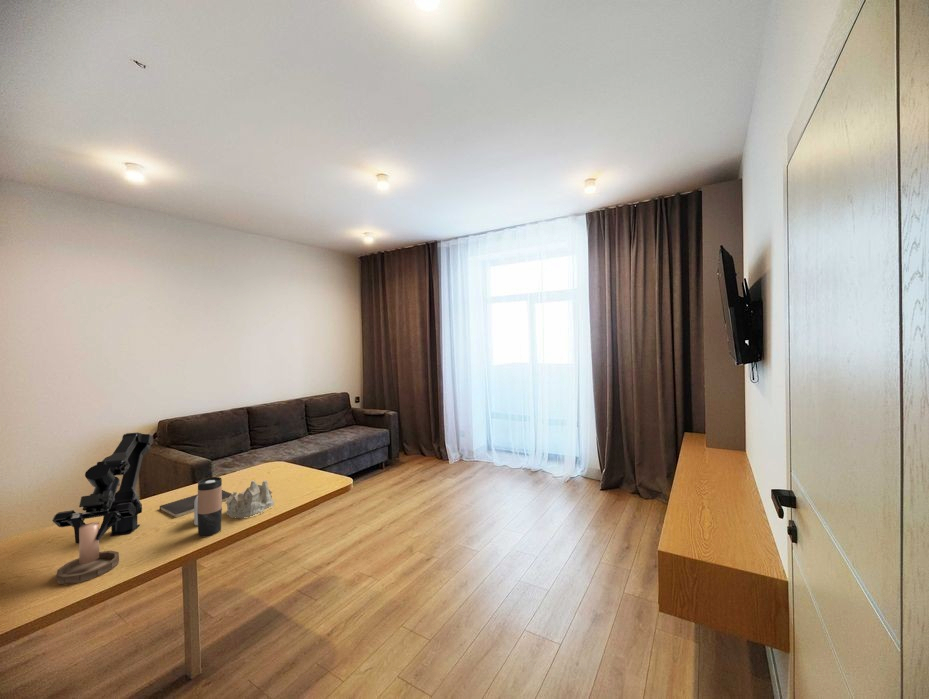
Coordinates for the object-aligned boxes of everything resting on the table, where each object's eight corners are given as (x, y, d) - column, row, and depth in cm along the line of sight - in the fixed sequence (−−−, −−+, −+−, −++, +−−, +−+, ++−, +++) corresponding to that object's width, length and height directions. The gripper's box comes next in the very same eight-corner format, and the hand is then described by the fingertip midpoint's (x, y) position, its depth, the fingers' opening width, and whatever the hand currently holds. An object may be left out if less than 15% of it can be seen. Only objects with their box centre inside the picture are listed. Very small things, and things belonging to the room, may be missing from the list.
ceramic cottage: (280, 504, 160) (277, 472, 160) (245, 522, 144) (242, 486, 144) (256, 501, 166) (253, 469, 165) (220, 518, 150) (218, 483, 150)
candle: (103, 556, 114) (103, 522, 114) (87, 564, 110) (87, 529, 110) (90, 555, 114) (90, 521, 114) (74, 563, 110) (74, 528, 110)
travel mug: (226, 527, 140) (226, 476, 140) (213, 537, 132) (213, 484, 132) (206, 527, 140) (206, 477, 140) (192, 537, 132) (192, 484, 132)
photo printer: (205, 514, 150) (205, 485, 150) (217, 513, 151) (217, 485, 151) (192, 526, 140) (192, 495, 140) (204, 525, 141) (204, 494, 141)
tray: (128, 555, 120) (128, 548, 120) (100, 580, 107) (100, 572, 107) (79, 561, 117) (79, 554, 117) (43, 588, 104) (43, 579, 104)
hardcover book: (234, 499, 167) (234, 494, 167) (175, 519, 147) (175, 513, 147) (217, 492, 175) (217, 487, 175) (159, 510, 155) (159, 505, 155)
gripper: (56, 487, 112) (32, 539, 102) (132, 478, 120) (118, 525, 110) (70, 502, 119) (49, 552, 109) (141, 492, 127) (128, 538, 117)
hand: (87, 541), depth 111 cm, fingers closed on candle, 4 cm apart
